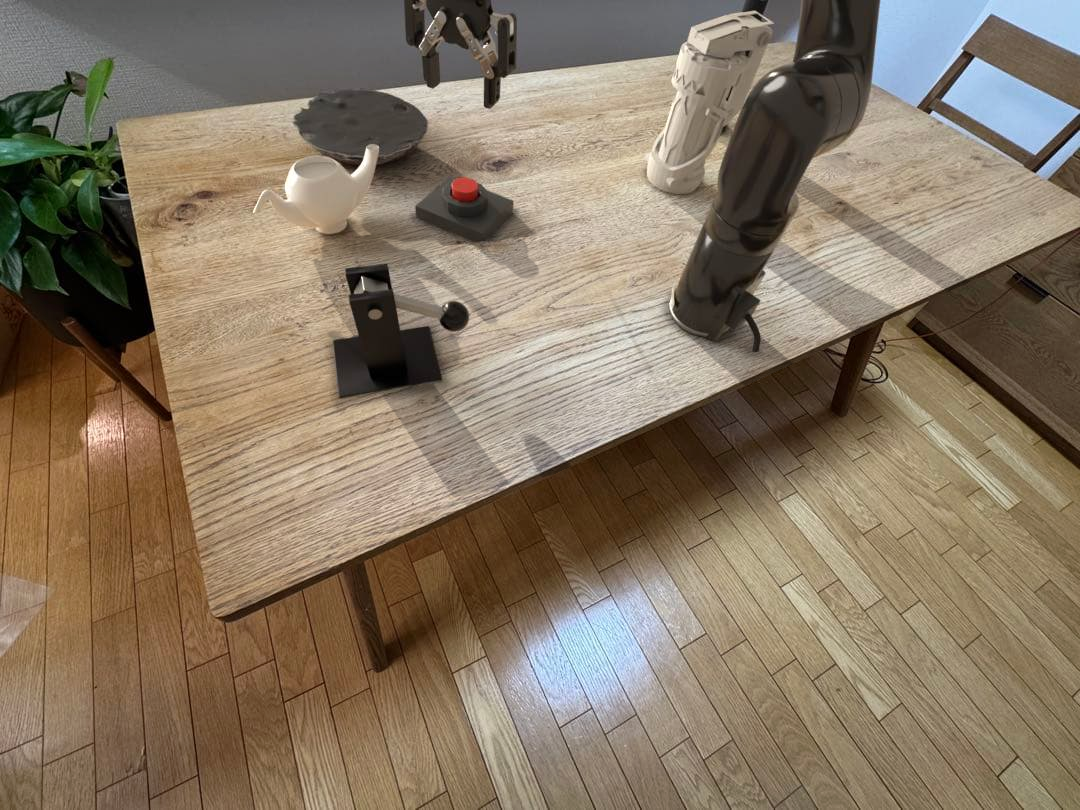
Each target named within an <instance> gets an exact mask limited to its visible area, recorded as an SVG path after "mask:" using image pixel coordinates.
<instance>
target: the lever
mask: <svg viewBox="0 0 1080 810" xmlns="http://www.w3.org/2000/svg"><path fill="white" fill-rule="evenodd" d="M382 290H388V285H387V283H384V282H381V281H377V280H374V279H370V278H367V277H363V276H362V277H361V279H360V281H359V283H358V285H357V287H356V289H355V291H354V294H359V293H367V292H374V291H382ZM394 298H395V304H396V309H398V310H402V311H406V312H411V313H414V314H418V315H422V316H426V317H430V318H433V319H438V321H439V323H440V326H441V327H442V328H443V329H445V330H446V331H448V332H452V333H457V332H460V331H462V330H464V329H465V328H466V327H467V325H468V324H469V322H470V312H469V309H468V308H467V306H465V304H463V303H462V302H460V301H457V300H450V301H447V302H445V303H444V304H442V306H440V305H438V304H437V305H436V304H434V303H430V302H426V301H421V300H419V299H415V298H411V297H408V296H403V295H401V294H397V293H394Z"/></svg>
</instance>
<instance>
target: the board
mask: <svg viewBox="0 0 1080 810" xmlns="http://www.w3.org/2000/svg"><path fill="white" fill-rule="evenodd" d="M307 107H308V108H304V107H300V112H298V113H296V114H294V115H293V121H292V125H293V126H294V127H295V128H296V130H297V131H298V134H299V136H300V137H301V138H302V140H304V141H305V142H306V143H307V144H309V146H311V147H312V148H314V150H316V151H318V152H319V153H320V154H322V155H323V156H325V157H329V158H331V159H334V160H335V161H337V162H338V163H340V164H349V165H353V166H360V165H361V163H362V161H363V159H364V155H365V151H366V147H367V146H368V145H370V144H375V145H377V146H378V147H379V154H378V158H377V162H376V165H383V164H385V163H387V162H393V161H400V160H402V159H403V158H404V156H405V155H409V154H411V153H412V152H413V151H414V150H415V149H417V147H418V146H419V145H420V143H421V142H423V140H424V138H425V136H427V132H428V130H429V123H428V118H426V115H424V114H423V113H422V111H421V110H420V109H419V108H418V107H416V106H415V105H414V104H412V103H410V102H409V101H406V100H404V99H402V98H401V97H398V96H396V95H393V94H391V93H388V92H383V91H378V90H376V89H368V88H367V89H366V88H361V87H360V88H351V89H350V88H349V89H346V88H337V89H335V90H334V91H332V92H331V91H330V92H328V91H325V92H320V93H318V94H317V95H315V96H314V97H313V98H311V99H309V101H308V102H307Z"/></svg>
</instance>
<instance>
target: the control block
mask: <svg viewBox="0 0 1080 810" xmlns="http://www.w3.org/2000/svg"><path fill="white" fill-rule="evenodd" d="M456 179H458V178H457V177H454V176H451V175H449V176H447V178H445V179H444V180H443V181H442V182H441V183H439V184H438V185H437V186H436V187H435V188H434V189H433V190H432V191H430V192H429V193H428V194H427V195H426V196H425V197H423V198H422V200H420V201H418V202H417V204H416V205H414V207H415V216H416V219H418V220H420V221H423V222H426V223H428V224H431V225H433V226H435V227H437V228H440V229H442V230H445V231H446V232H449V233H452V234H454V235H457V236H460V238H461V237H462V238H464V239H466V240H469V241H471V242H474V243H483V242H484V243H485V242H488V240H489V239H490V238H491V237H492V236H493V235H494V233H496V231H497V230H498V229H499V228H500V227H501V226H502V225H503V224H504V223H505V221H506V220H507V219H508V218H509V217H510V216H511V215H512V214H513V213H514V202H515V201H514V200H513V199H510V198H508V197H505V196H503V195H500V194H497V193H495V192H492V191H491V190H488V189H487V188H485V186H484V185H483V184H481V183H479V182H477V184H478V198H477V199H476V200H474V201H471V202H460V201H458V200H456V199H454V198H453V196H452V182H453V181H454V180H456Z"/></svg>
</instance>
